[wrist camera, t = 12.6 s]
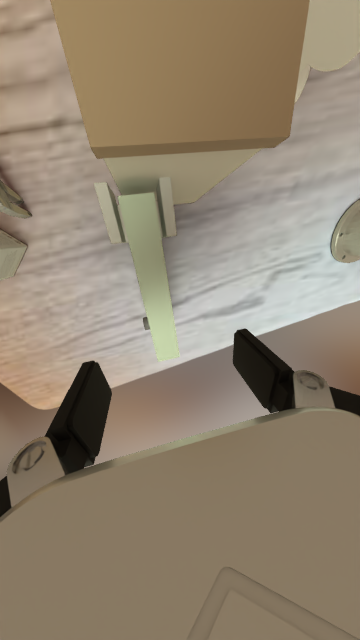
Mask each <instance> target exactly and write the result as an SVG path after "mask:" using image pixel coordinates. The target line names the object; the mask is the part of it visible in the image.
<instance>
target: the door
mask: <svg viewBox="0 0 360 640" xmlns="http://www.w3.org/2000/svg"><path fill="white" fill-rule="evenodd" d="M118 200H119V204H120V208H121V212H122V217H123V221H124V225H125V229H126V233H127V237H128V241H129V245H130V249H131V253H132V257H133V261H134V265H135V269H136V274H137V278H138V282H139V286H140V290H141V294H142V298H143V302H144V306H145V310H146V314H147V317H144V318H143V323H144V327H145V330H148V329H150V330H151V335H152V339H153V343H154V347H155V351H156V355H157V359H158V362H159V361H164V360H168V359H172V358H177V357H180V355H179V349H178V342H177V336H176V330H175V323H174V317H173V311H172V304H171V298H170V291H169V285H168V279H167V272H166V266H165V259H164V253H163V247H162V240H161V234H160V228H159V221H158V215H157V208H156V202H155V196H154V193H144V194H133V195H123V196H118Z"/></svg>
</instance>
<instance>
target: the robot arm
mask: <svg viewBox="0 0 360 640" xmlns="http://www.w3.org/2000/svg"><path fill="white" fill-rule="evenodd" d="M331 250H332V254H333V256H334V258H335V259H336V260H337V261H339V262H345V263H350V262H355V261H357V260H359V259H360V200H358V201H357V202H355V203H354V204H353V205H352V206H351V207H350V208H349V209H348V210H347V211H346V212H345V214H344V215H343V216H342V218H341V219H340V221H339V223H338V224H337V227H336V229H335V231H334V234H333V237H332V242H331ZM233 364H234V366H235V368H236V369H237V371H238V372H239V373H240V375H241V376H242V378H243V379H244V380H245V382H246V383H247V385H248V386H249V388H250V389H251V390H252V392H253V393H254V395H255V396H256V397H257V399H258V400H259V402H260V403H261V404H262V406H263V407H264V408H267V409H268V410H269V412H270V413H273V414H269V415H265V416H262V417H258V418H255V419H251V420H247V421H244V422H240V423H237V424H233V425H230V426H226V427H223V428H219V429H216V430H212V431H209V432H205V433H202V434H198V435H195V436H191V437H188V438H184V439H181V440H177V441H174V442H170V443H167V444H164V445H160V446H157V447H153V448H150V449H147V450H143V451H140V452H136V453H133V454H130V455H126V456H123V457H119V458H116V459H113V460H110V461H107V462H104V463H101V464H97V465H94V466H91V467H88V468H84V467H87V466H90V465H93V464H94V461H95V457H96V456H98V454H99V451H100V446H101V441H102V437H103V432H104V428H105V423H106V419H107V414H108V410H109V405H110V400H111V396H112V392H111V389H110V387H109V385H108V383H107V380H106V378H105V376H104V374H103V372H102V370H101V368H100V366H99V364H98V363H97V362H96V363H95V361H89V362H85V363H83V364H82V366H81V368H80V370H79V372H78V373H77V375H76V377H75V379H74V381H73V383H72V385H71V387H70V389H69V390H68V392H67V394H66V396H65V398H64V400H63V402H62V404H61V406H60V408H59V410H58V411H57V414H56V415H55V417H54V419H53V421H52V423H51V425H50V427H49V429H48V431H47V433H46V435H45V437H39V438H37V439H34V440H32V441H31V442H30V443H28V444H26V445H25V446H24V447H23V448H22V449H21V450H20V451H19V452H18V453H17V454H16V455H15V456H14V458H13V459H12V461H11V462H10V464H9V466H8V469H7V476H6V477H5V478H3V479H2V480H1V481H0V640H360V396H359V395H356V394H352V393H349V392H346V391H342V390H339V389H336V388H333V387H329V386H328V384H327V382H326V381H325V380H324V379H323V378H322V377H321V376H319V375H318V374H315V373H313V372H310V371H306V370H299V371H296V372H294V371H293V370H292V368H290V367H289V366H288V365H287V364H286V363H285V362H284V361H283V360H281V359H280V358H279V357H278V356H277V355H275V354H274V353H273V352H272V351H271V350H270V349H269V348H268V347H266V346H265V345H264V344H263V343H262V342H261V341H260V340H258V339H257V338H256V337H255V336H254V335H253V334H251V333H250V332H249V331H248V330H247V329H241V330H237V331H236V333H235V334H234V350H233ZM277 411H279V412H277ZM274 412H277V413H274Z"/></svg>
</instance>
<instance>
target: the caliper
mask: <svg viewBox="0 0 360 640" xmlns="http://www.w3.org/2000/svg"><path fill="white" fill-rule="evenodd" d="M10 201H11V202H10ZM12 202H14V203H16V204H20V203H24V201H23V200H22V198H21V197H20V196H19V195H17V194H16V193H15V192H14V191H13V190H11V189H10V188H9V187H8V186H7V185H5V184H4V183H3V182H2V181H1V180H0V211H1V212H3V213H5V214H8V215H10V216H13V217H18V218H24V219H25V218H28V217H32V215H31V213H30V212H28V211H26V210H24V209H22V208H21V207H19V206H17V205H15V204H14V203H12Z"/></svg>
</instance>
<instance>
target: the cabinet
mask: <svg viewBox="0 0 360 640" xmlns="http://www.w3.org/2000/svg"><path fill="white" fill-rule="evenodd" d="M50 1H51V5H52V9H53V12H54V16H55V20H56V23H57V27H58V30H59V34H60V38H61V41H62V45H63V49H64V52H65V56H66V60H67V63H68V67H69V71H70V74H71V78H72V82H73V85H74V89H75V93H76V96H77V100H78V103H79V107H80V111H81V114H82V118H83V122H84V125H85V129H86V133H87V136H88V140H89V144H90V147H91V149H92V151H93V153H94V154H95V156H96V158H97V159H100V158H104V160H105V162H106V164H107V166H108V168H109V170H110V172H111V174H112V177H113V179H114V181H115V183H116V185H117V187H118V189H119V191H120V193H121V195H122V196H123V195H133V194H144V193H154V196H155V202H156V208H157V215H158V221H159V228H160V234H161V238H166V237H171V236H177V232H176V223H175V214H174V205H176V204H185V203H194V202H195V201H196V200H198V199H199V198H200V197H201V196H203V195H204V194H205V193H207V192H208V191H209V190H210V189H212V188H213V187H214V186H215V185H217V184H218V183H219V182H220V181H222V180H223V179H224V178H226V177H227V176H228V175H229V174H231V173H232V172H233V171H234V170H236V169H237V168H238V167H240V166H241V165H242V164H243V163H245V162H246V161H247V160H248V159H250V158H251V157H252V156H253V155H255V154H256V153H257V152H259V151H260V150H261V149H262V148H274V147H276V146H277V145H279V144H280V143H281V142H283V141H284V140H285V139H287V138H288V137H289V136H290V129H291V123H292V116H293V109H294V103H295V96H296V89H297V83H298V76H299V69H300V63H301V56H302V49H303V43H304V36H305V29H306V22H307V16H308V9H309V2H310V0H50ZM94 186H95V190H96V193H97V196H98V200H99V203H100V207H101V210H102V214H103V217H104V221H105V224H106V228H107V231H108V234H109V238H110V241H111V244H116V243H128V242H129V241H128V237H127V233H126V229H125V225H124V221H123V217H122V212H121V208H120V205H117V203H116V199H115V195H114V193H113V192H112V190H111V189H110V187H109V186H108V184H107V182H102V183H94Z"/></svg>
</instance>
